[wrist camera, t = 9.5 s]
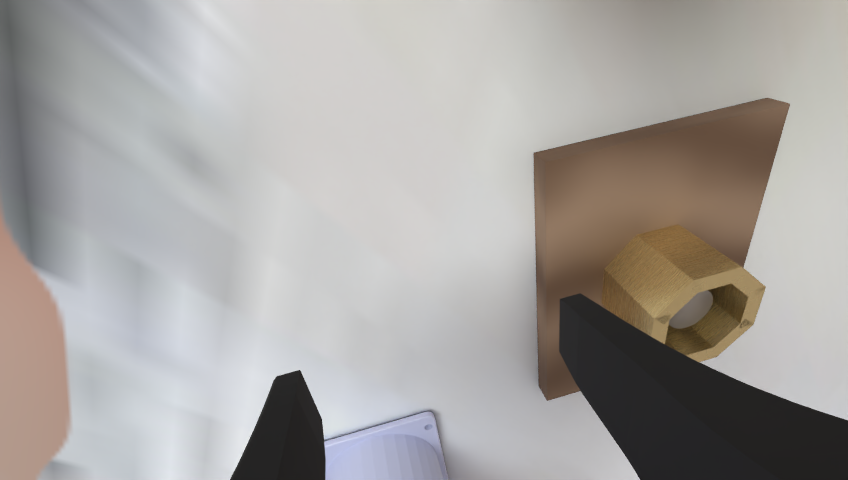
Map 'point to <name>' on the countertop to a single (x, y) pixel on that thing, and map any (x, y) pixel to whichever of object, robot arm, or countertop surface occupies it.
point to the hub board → (645, 206)
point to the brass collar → (681, 291)
